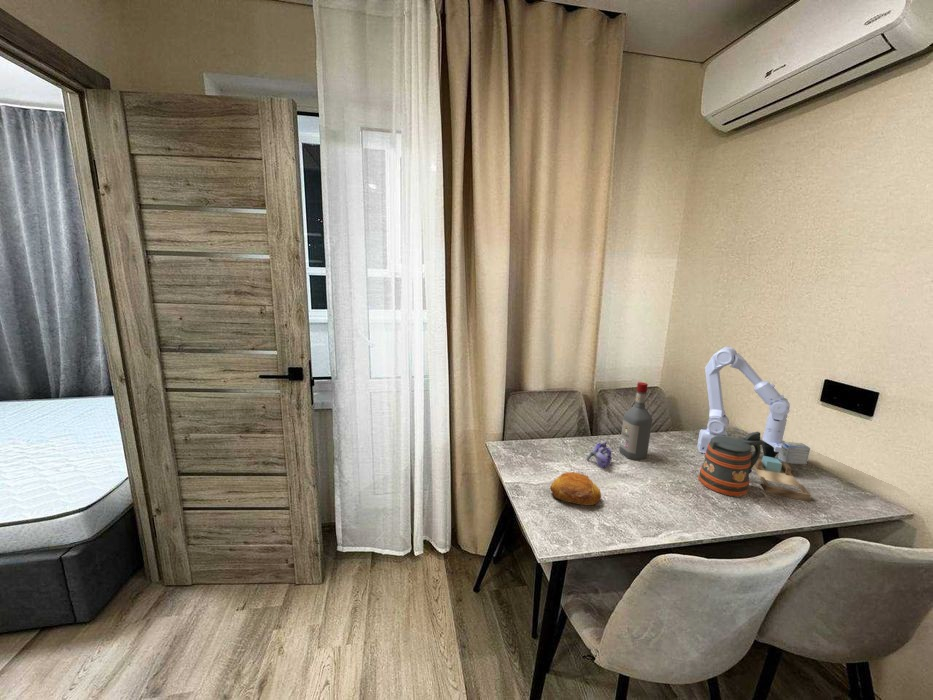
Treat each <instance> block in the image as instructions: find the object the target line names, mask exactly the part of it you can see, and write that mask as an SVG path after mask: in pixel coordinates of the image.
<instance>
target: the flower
mask: <svg viewBox="0 0 933 700" xmlns="http://www.w3.org/2000/svg"><path fill="white" fill-rule="evenodd" d="M607 444H608V442H607V441H606V442H601V443H600V442H598V443H597V444H596V445H595V446H594V447H593V449H592V450H591V452H590V453H588V455H587V457H586V462H589V460H590V459H591V458H592V457H593V456H594V458H595V461H596V464H597V465H598V466H599V467H601V468H603V469H606V468H607V467H608V468H609V467H611V466H612V460H613V458H612V456H611V455H612V450H611V448H609V447H607Z"/></svg>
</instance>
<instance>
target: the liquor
mask: <svg viewBox="0 0 933 700" xmlns="http://www.w3.org/2000/svg"><path fill="white" fill-rule="evenodd" d="M648 386H649V385H648V383H646V382H642V381H640V382H637V385H636V395H635V402H634V404H633V406H632V407H630V408H629V409H628V410H626V411H625V413H624V415H623V418H622V426H621V427H622V428H621V434H620V442H619V450H618V451H619V453H620V454H621V455H623V456H624V457H625V458H626V459H627V460H628V459H629V460H633V461H638V460H645V459H646V458H647V456H648V453H649V447H650V439H651V431H652V423H653V417H652V416H653V415H652V416H651V414H650V413H649V411H648V409H646V397H647V392H648Z"/></svg>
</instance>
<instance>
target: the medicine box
mask: <svg viewBox="0 0 933 700" xmlns="http://www.w3.org/2000/svg"><path fill="white" fill-rule="evenodd" d="M785 442H786V444H782V446H781V447H782V451H781V453H780V452H779V453H778V454H777V455H778V456H777V458H778V460H779V461H781V462H782V463H783V462H787V463H788V464H795V465H808V464H807V462H808V459H809V456H810V451H811V447H810V446H808V445H806V444H804V443H802V442H795V441H794V442H793V441H792V442H790V441H785Z"/></svg>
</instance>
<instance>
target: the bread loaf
mask: <svg viewBox="0 0 933 700" xmlns="http://www.w3.org/2000/svg"><path fill="white" fill-rule="evenodd" d="M549 489H550V491H551V492H552V495H553V497H554V498H555V499H558V500H561V501H565V502H568V503H571V504H577V505H583V506H591V505H592V506H593V505H595V504H598V502H599V501H600V500H601V497H602V494H601V493H602V492H601V490H600V488H599V487H598V486H597V484H595V483H594V482H593V481H592V480H591V479H590V478H589V476H588V475H585V474H583V473H578V472H570V471H568V472H564V473H561V475H559V476H558V477H557V478H556V479H554V480H553V481H552V482H551V484H550V487H549Z"/></svg>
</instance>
